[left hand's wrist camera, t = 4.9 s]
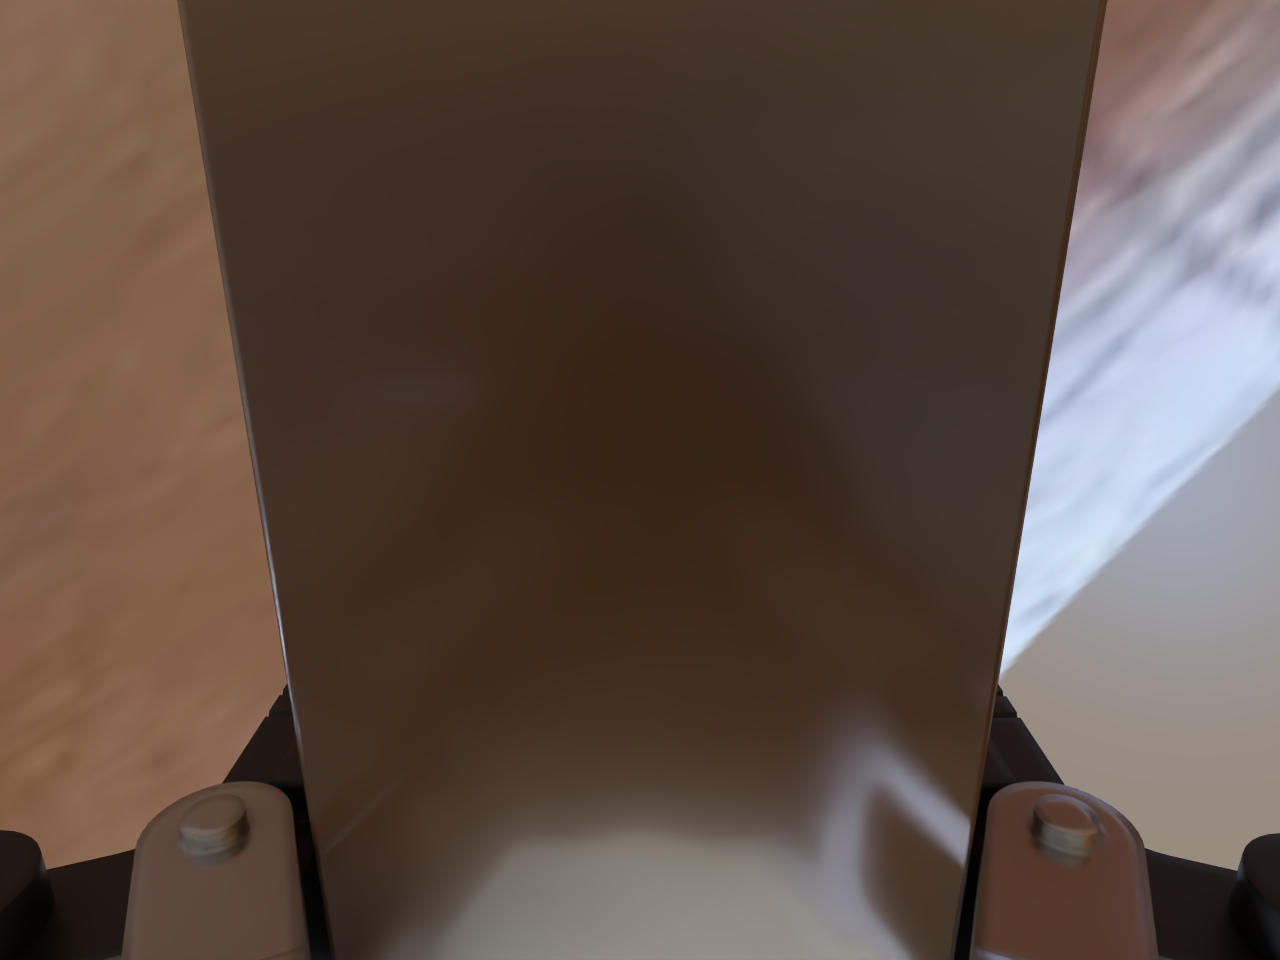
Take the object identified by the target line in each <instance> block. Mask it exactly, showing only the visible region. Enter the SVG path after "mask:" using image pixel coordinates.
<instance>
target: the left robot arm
mask: <svg viewBox="0 0 1280 960" xmlns="http://www.w3.org/2000/svg"><path fill="white" fill-rule="evenodd" d="M0 960H332V957H331V951H330V944H329V938H328V932H327V926H326V920H325V913H324V907H323V901H322V895H321V889H320V882H319V876H318V870H317V864H316V858H315V851H314V845H313V839H312V833H311V827H310V820H309V814H308V808H307V802H306V795H305V789H304V783H303V777H302V771H301V764H300V758H299V752H298V746H297V740H296V733H295V727H294V721H293V715H292V709H291V702H290V696H289V690H288V684H287V685H286V686H285V688H284V689H283V695H279V697H278V698H277V700H276V702H275V703H274V705H273V706H272V708H271V709H270V711H269V717H265V718H264V720H263V721H262V723H261V725H260V726H259V728H258V729H257V731H256V732H255V734H254V735H253V737H252V738H251V740H250V741H249V743H248V744H247V746H246V748H245V749H244V751H243V752H242V754H241V755H240V757H239V758H238V760H237V761H236V763H235V764H234V766H233V767H232V769H231V771H230V772H229V774H228V775H227V777H226V778H225V780H224V781H223V783H222V784H219V785H214V786H211V787H208V788H204V789H201V790H199V791H196V792H194V793H191V794H189V795H187V796H185V797H183V798H181V799H179V800H177V801H176V802H174V803H173V804H171V805H169V806H168V807H166V808H165V809H164V810H163V811H161V812H160V813H159V814H157V815H156V816H155V817H154V818H153V819H152V820H151V821H150V822H149V823H148V825H147V826H146V827H145V829H144V830H143V831H142V833H141V835H140V837H139V839H138V840H137V844H136V848H135V849H133V850H130V851H126V852H122V853H119V854H115V855H110V856H106V857H101V858H97V859H92V860H88V861H83V862H79V863H75V864H70V865H66V866H61V867H57V868H52V869H48V870H46V867H45V864H44V860H43V857H42V853H41V850H40V848H39V846H38V844H37V842H36V841H35V840H33V839H32V838H31V837H29V836H27V835H25V834H23V833H19V832H15V831H3V830H0ZM954 960H1280V833H1278V834H1268V835H1264V836H1260V837H1258V838H1256V839H1254V840H1252V841H1251V842H1250V843H1249V844H1248V845H1247V846H1246V847H1245V849H1244V852H1243V854H1242V857H1241V861H1240V864H1239V868H1238V871H1235V870H1231V869H1226V868H1222V867H1217V866H1213V865H1208V864H1204V863H1200V862H1195V861H1191V860H1186V859H1182V858H1177V857H1173V856H1169V855H1165V854H1162V853H1158V852H1155V851H1152V850H1149V849H1146V848H1145V847H1144V844H1143V840H1142V838H1141V837H1140V835H1139V833H1138V831H1137V830H1136V829H1135V827H1134V826H1133V825H1132V823H1131V822H1130V821H1129V820H1128V819H1127V818H1126V817H1125V816H1124V815H1123V814H1121V813H1120V812H1119V811H1117V810H1116V809H1115V808H1114V807H1112V806H1111V805H1109V804H1107V803H1106V802H1104V801H1103V800H1101V799H1099V798H1097V797H1095V796H1093V795H1091V794H1089V793H1086V792H1084V791H1081V790H1079V789H1076V788H1072V787H1069V786H1066V785H1064V783H1063V782H1062V780H1061V779H1060V777H1059V776H1058V774H1057V773H1056V771H1055V770H1054V768H1053V766H1052V765H1051V763H1050V762H1049V760H1048V759H1047V757H1046V756H1045V754H1044V753H1043V751H1042V750H1041V748H1040V747H1039V745H1038V744H1037V742H1036V741H1035V739H1034V738H1033V736H1032V735H1031V733H1030V732H1029V730H1028V729H1027V727H1026V726H1025V724H1024V723H1023V721H1022V720H1021V718H1017V712H1016V710H1015V709H1014V707H1013V706H1012V704H1011V703H1010V701H1009V700H1008V698H1007V697H1006V696H1003V691H1002V689H1001V688H1000V686H999V685H998V686H997V692H996V699H995V705H994V711H993V717H992V724H991V730H990V736H989V742H988V749H987V755H986V761H985V767H984V774H983V780H982V786H981V792H980V799H979V805H978V811H977V817H976V824H975V830H974V836H973V842H972V849H971V855H970V861H969V867H968V874H967V880H966V886H965V892H964V899H963V905H962V911H961V917H960V924H959V930H958V936H957V942H956V949H955V955H954Z"/></svg>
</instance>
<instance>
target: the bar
mask: <svg viewBox="0 0 1280 960" xmlns="http://www.w3.org/2000/svg"><path fill="white" fill-rule="evenodd" d="M177 1H178V7H179V14H180V20H181V26H182V32H183V38H184V45H185V51H186V57H187V63H188V69H189V76H190V82H191V88H192V94H193V100H194V107H195V113H196V119H197V125H198V132H199V138H200V144H201V150H202V156H203V163H204V169H205V175H206V181H207V187H208V194H209V200H210V206H211V212H212V218H213V225H214V231H215V237H216V243H217V249H218V256H219V262H220V268H221V274H222V280H223V287H224V293H225V299H226V305H227V311H228V318H229V324H230V330H231V336H232V342H233V349H234V355H235V361H236V367H237V374H238V380H239V386H240V392H241V398H242V405H243V411H244V417H245V423H246V429H247V436H248V442H249V448H250V454H251V460H252V467H253V473H254V479H255V485H256V491H257V498H258V504H259V510H260V516H261V522H262V529H263V535H264V541H265V547H266V553H267V560H268V566H269V572H270V578H271V584H272V591H273V597H274V603H275V609H276V616H277V622H278V628H279V634H280V640H281V647H282V653H283V659H284V665H285V671H286V678H287V684H288V690H289V696H290V702H291V709H292V715H293V721H294V727H295V733H296V740H297V746H298V752H299V758H300V764H301V771H302V777H303V783H304V789H305V795H306V802H307V808H308V814H309V820H310V827H311V833H312V839H313V845H314V851H315V858H316V864H317V870H318V876H319V882H320V889H321V895H322V901H323V907H324V913H325V920H326V926H327V932H328V938H329V944H330V951H331V957H332V960H954V955H955V949H956V942H957V936H958V930H959V924H960V917H961V911H962V905H963V899H964V892H965V886H966V880H967V874H968V867H969V861H970V855H971V849H972V842H973V836H974V830H975V824H976V817H977V811H978V805H979V799H980V792H981V786H982V780H983V774H984V767H985V761H986V755H987V749H988V742H989V736H990V730H991V724H992V717H993V711H994V705H995V699H996V692H997V686H998V680H999V674H1000V667H1001V661H1002V655H1003V649H1004V642H1005V636H1006V630H1007V624H1008V617H1009V611H1010V605H1011V599H1012V592H1013V586H1014V580H1015V573H1016V567H1017V561H1018V555H1019V548H1020V542H1021V536H1022V530H1023V523H1024V517H1025V511H1026V505H1027V498H1028V492H1029V486H1030V480H1031V473H1032V467H1033V461H1034V455H1035V448H1036V442H1037V436H1038V430H1039V423H1040V417H1041V411H1042V405H1043V398H1044V392H1045V386H1046V380H1047V373H1048V367H1049V361H1050V355H1051V348H1052V342H1053V336H1054V330H1055V323H1056V317H1057V311H1058V305H1059V298H1060V292H1061V286H1062V280H1063V273H1064V267H1065V261H1066V255H1067V248H1068V242H1069V236H1070V230H1071V223H1072V217H1073V211H1074V205H1075V198H1076V192H1077V186H1078V180H1079V173H1080V167H1081V161H1082V155H1083V148H1084V142H1085V136H1086V129H1087V123H1088V117H1089V111H1090V104H1091V98H1092V92H1093V86H1094V79H1095V73H1096V67H1097V61H1098V54H1099V48H1100V42H1101V36H1102V29H1103V23H1104V17H1105V11H1106V4H1107V0H177Z"/></svg>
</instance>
